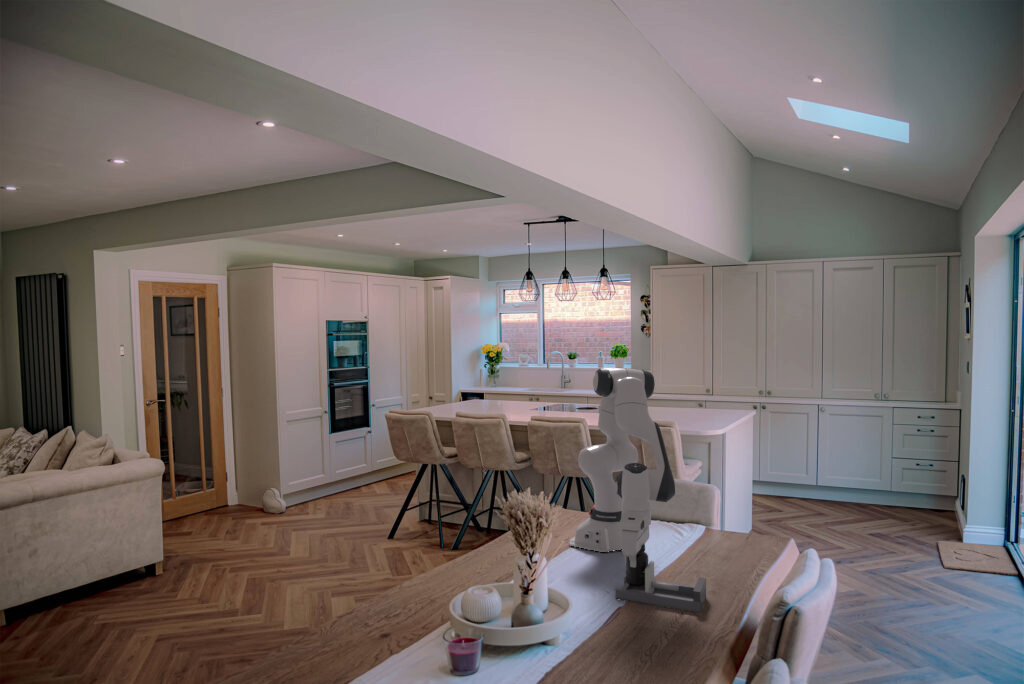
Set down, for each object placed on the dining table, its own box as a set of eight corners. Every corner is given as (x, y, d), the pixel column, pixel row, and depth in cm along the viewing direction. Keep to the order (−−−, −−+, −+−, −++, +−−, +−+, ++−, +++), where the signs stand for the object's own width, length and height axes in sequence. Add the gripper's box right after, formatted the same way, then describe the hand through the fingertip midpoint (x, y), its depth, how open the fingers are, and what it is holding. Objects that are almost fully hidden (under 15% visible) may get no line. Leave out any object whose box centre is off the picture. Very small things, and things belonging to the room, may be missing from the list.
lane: (615, 599, 194) (615, 579, 194) (625, 585, 204) (625, 567, 204) (700, 612, 184) (700, 592, 184) (706, 598, 194) (705, 578, 194)
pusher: (645, 599, 192) (644, 569, 192) (651, 589, 199) (650, 560, 199) (675, 604, 188) (675, 573, 188) (680, 593, 195) (680, 564, 195)
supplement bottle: (648, 587, 193) (648, 548, 193) (625, 586, 194) (625, 546, 194) (648, 579, 199) (648, 541, 199) (626, 578, 201) (626, 539, 201)
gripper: (634, 508, 208) (634, 550, 208) (617, 525, 189) (618, 571, 189) (653, 510, 205) (654, 553, 205) (638, 527, 186) (639, 574, 186)
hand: (636, 562), depth 197 cm, fingers closed on supplement bottle, 7 cm apart
